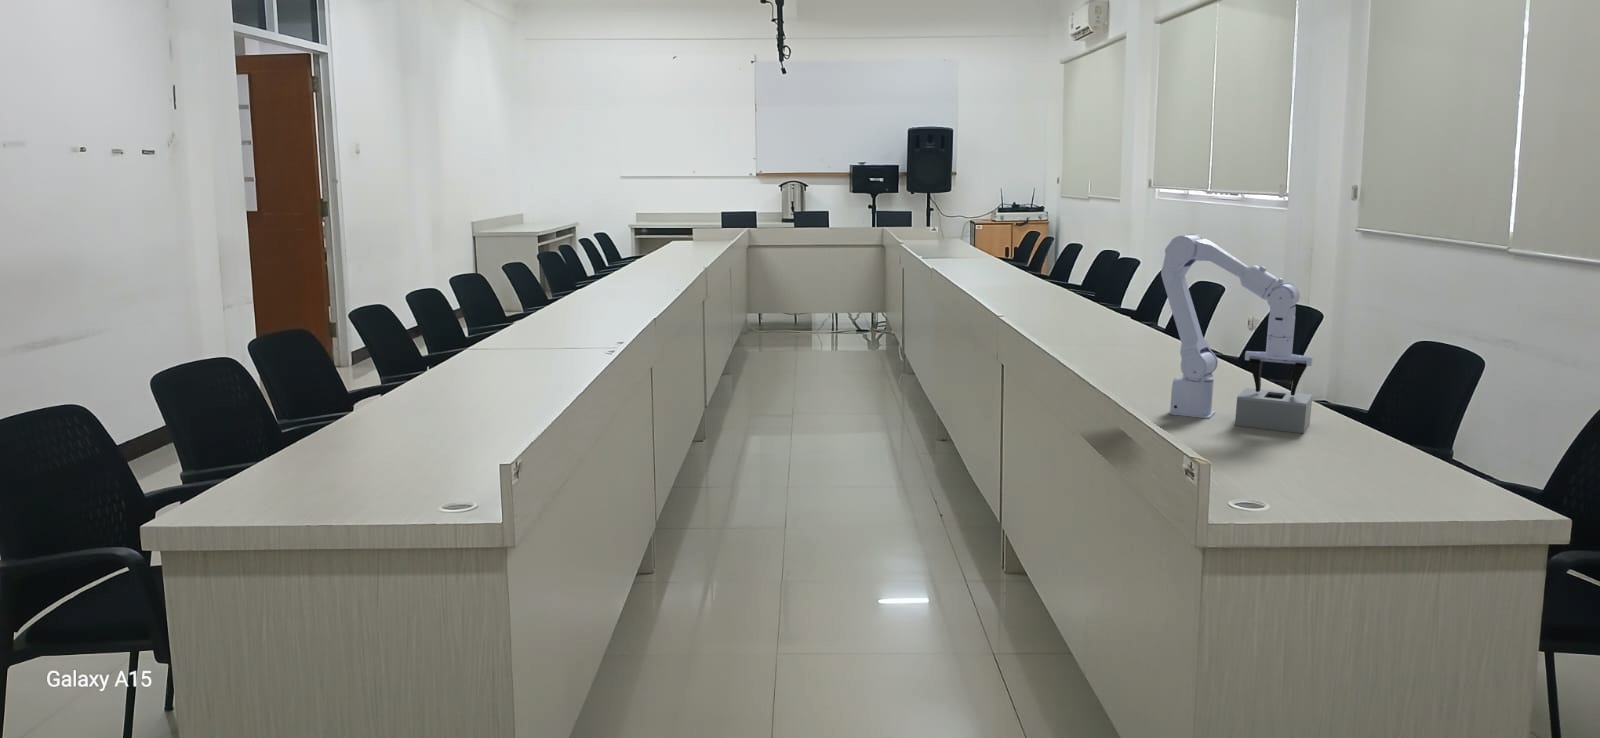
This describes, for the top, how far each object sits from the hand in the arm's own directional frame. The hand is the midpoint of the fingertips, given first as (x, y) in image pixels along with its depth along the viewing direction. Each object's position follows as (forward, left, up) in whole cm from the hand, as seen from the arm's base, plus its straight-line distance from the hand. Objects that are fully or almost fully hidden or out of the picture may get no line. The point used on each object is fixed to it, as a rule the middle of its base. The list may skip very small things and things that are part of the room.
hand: (1275, 392), depth 273 cm
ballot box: (0, 0, -8) cm, 8 cm away
